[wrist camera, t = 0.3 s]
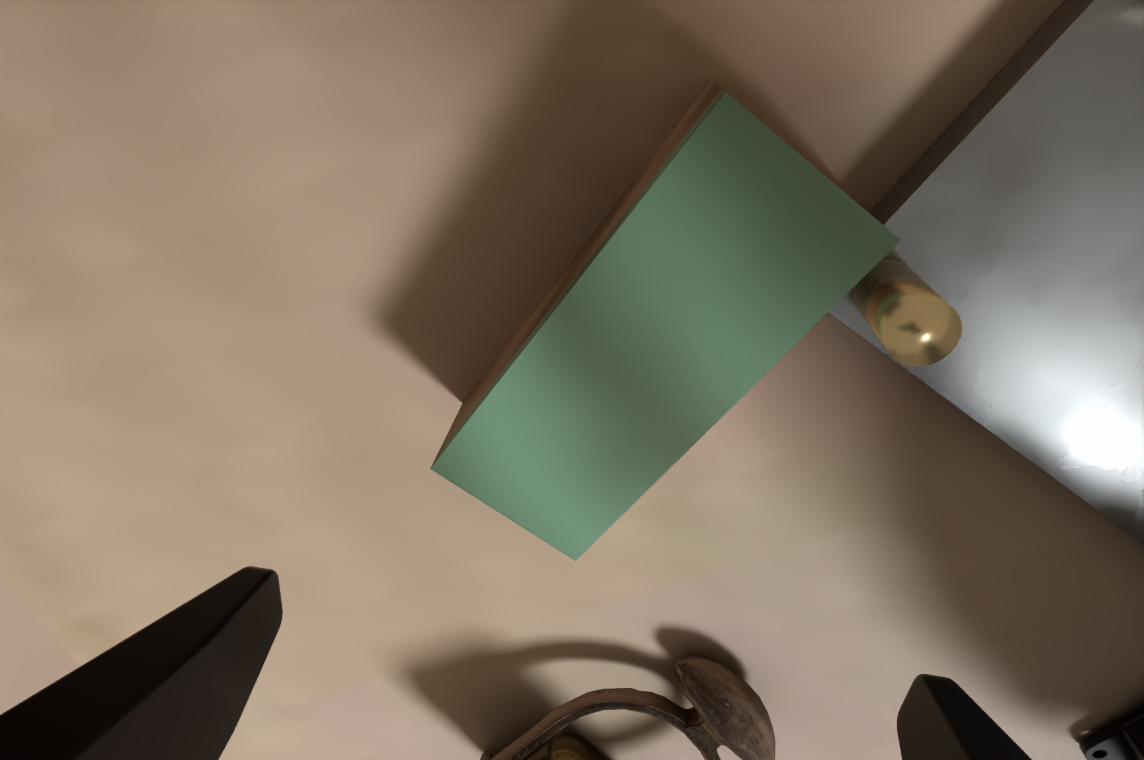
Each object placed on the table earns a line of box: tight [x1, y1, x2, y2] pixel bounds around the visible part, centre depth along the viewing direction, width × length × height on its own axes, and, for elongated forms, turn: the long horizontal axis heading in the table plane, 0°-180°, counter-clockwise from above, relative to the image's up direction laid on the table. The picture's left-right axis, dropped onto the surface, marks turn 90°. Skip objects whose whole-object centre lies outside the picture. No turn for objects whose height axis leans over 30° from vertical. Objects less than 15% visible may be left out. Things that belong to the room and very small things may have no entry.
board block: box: [430, 79, 901, 561], centre depth 19 cm, size 12×5×4 cm, turn 144°
